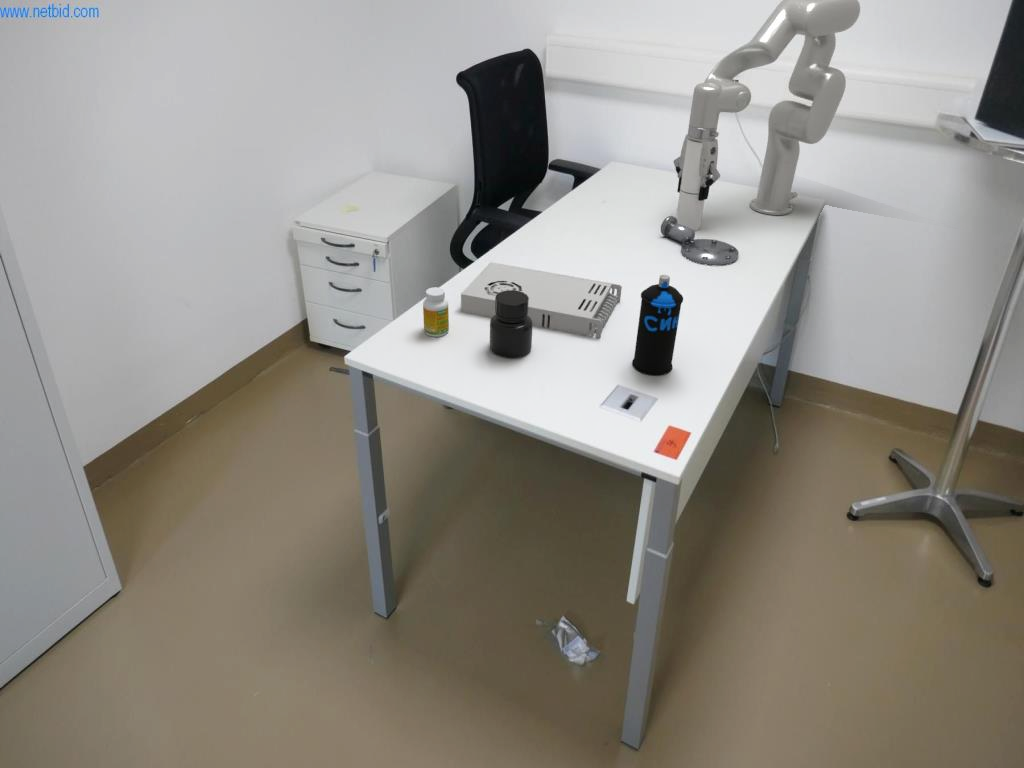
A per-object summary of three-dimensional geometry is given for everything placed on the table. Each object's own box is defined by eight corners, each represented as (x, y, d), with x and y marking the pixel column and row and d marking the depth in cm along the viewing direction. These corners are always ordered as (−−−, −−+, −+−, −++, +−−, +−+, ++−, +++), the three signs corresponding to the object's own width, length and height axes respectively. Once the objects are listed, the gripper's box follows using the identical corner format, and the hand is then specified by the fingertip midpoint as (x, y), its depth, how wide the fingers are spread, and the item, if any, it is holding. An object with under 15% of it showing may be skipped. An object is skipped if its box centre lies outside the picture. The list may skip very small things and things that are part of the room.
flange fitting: (749, 257, 209) (753, 237, 206) (711, 270, 202) (715, 250, 199) (684, 229, 225) (687, 210, 222) (647, 240, 217) (650, 221, 214)
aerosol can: (628, 355, 165) (639, 268, 154) (666, 354, 165) (680, 267, 154) (636, 376, 158) (648, 286, 147) (676, 375, 158) (691, 285, 148)
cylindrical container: (698, 222, 230) (712, 136, 216) (701, 231, 224) (715, 143, 210) (673, 221, 230) (686, 134, 217) (675, 230, 224) (688, 142, 211)
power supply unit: (600, 340, 171) (602, 320, 168) (460, 313, 180) (460, 293, 177) (619, 304, 186) (622, 285, 183) (490, 280, 195) (490, 262, 192)
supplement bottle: (439, 340, 168) (437, 299, 163) (419, 333, 170) (417, 292, 165) (453, 329, 172) (453, 289, 167) (433, 323, 174) (432, 283, 169)
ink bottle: (537, 341, 169) (539, 291, 162) (528, 362, 161) (530, 310, 155) (493, 335, 170) (494, 285, 164) (482, 355, 163) (483, 304, 157)
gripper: (736, 137, 208) (724, 202, 218) (687, 122, 220) (678, 184, 230) (717, 142, 205) (706, 207, 214) (668, 126, 216) (660, 189, 226)
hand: (692, 195), depth 222 cm, fingers closed on cylindrical container, 7 cm apart
